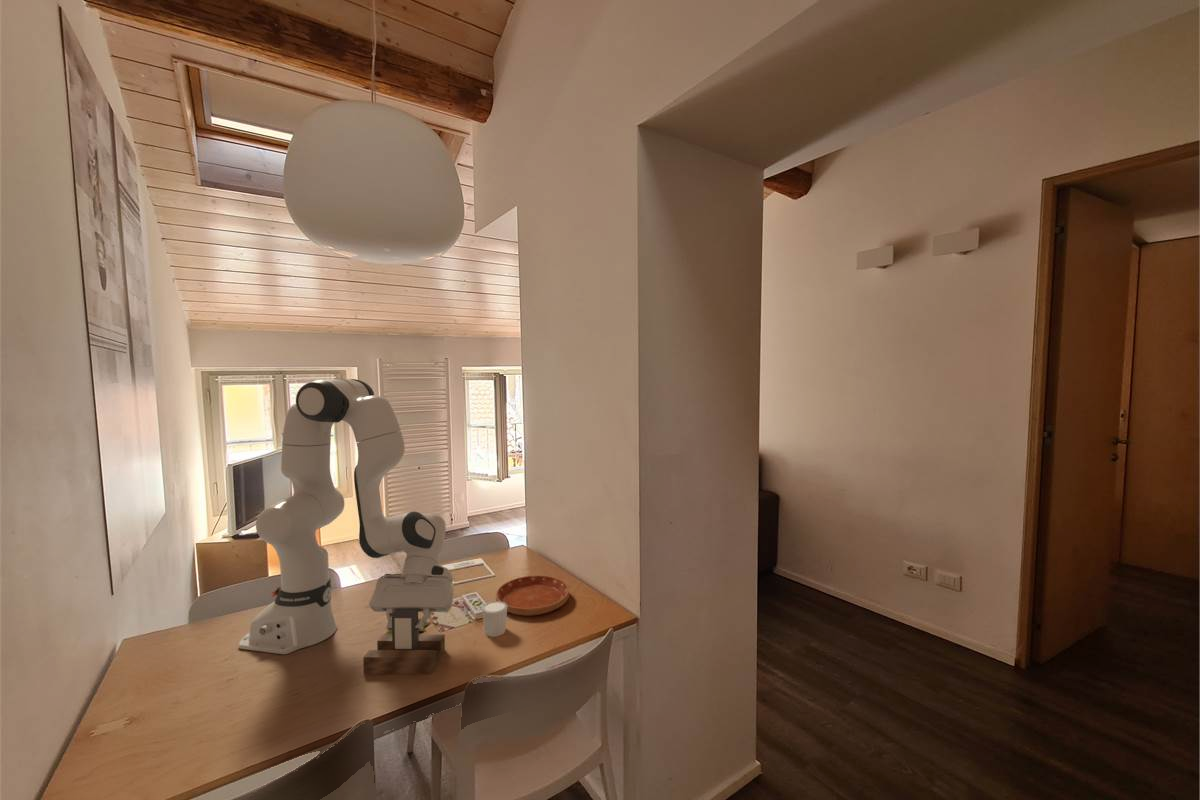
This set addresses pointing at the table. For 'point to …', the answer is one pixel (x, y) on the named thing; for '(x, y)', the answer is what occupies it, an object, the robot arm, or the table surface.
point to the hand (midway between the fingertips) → (404, 629)
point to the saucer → (533, 595)
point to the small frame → (405, 629)
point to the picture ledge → (404, 656)
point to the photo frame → (468, 564)
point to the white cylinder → (494, 618)
